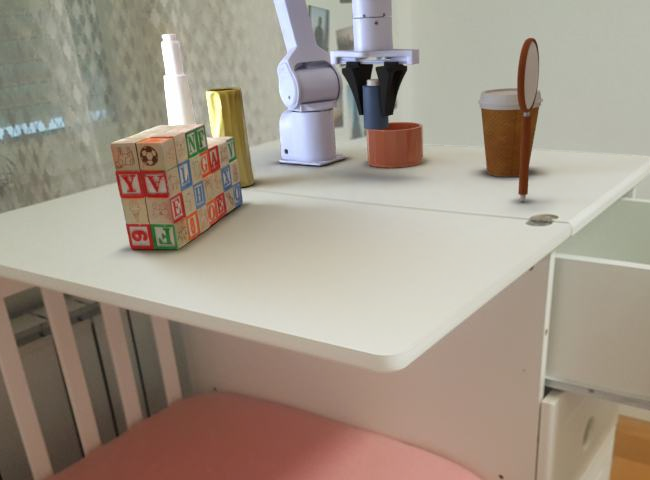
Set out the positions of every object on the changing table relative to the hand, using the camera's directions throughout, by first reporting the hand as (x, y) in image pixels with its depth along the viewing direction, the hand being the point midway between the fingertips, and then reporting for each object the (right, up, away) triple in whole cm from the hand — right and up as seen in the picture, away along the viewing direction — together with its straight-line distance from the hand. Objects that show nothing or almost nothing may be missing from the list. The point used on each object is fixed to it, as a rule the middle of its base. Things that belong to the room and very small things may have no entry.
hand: (375, 114), depth 110 cm
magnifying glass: (+19, -16, -15) cm, 29 cm away
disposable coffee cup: (+21, -9, +2) cm, 22 cm away
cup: (+4, -4, +13) cm, 14 cm away
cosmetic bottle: (-31, -8, +10) cm, 33 cm away
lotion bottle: (0, -2, +1) cm, 2 cm away
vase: (-22, -10, +3) cm, 25 cm away
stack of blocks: (-24, -20, -17) cm, 36 cm away
